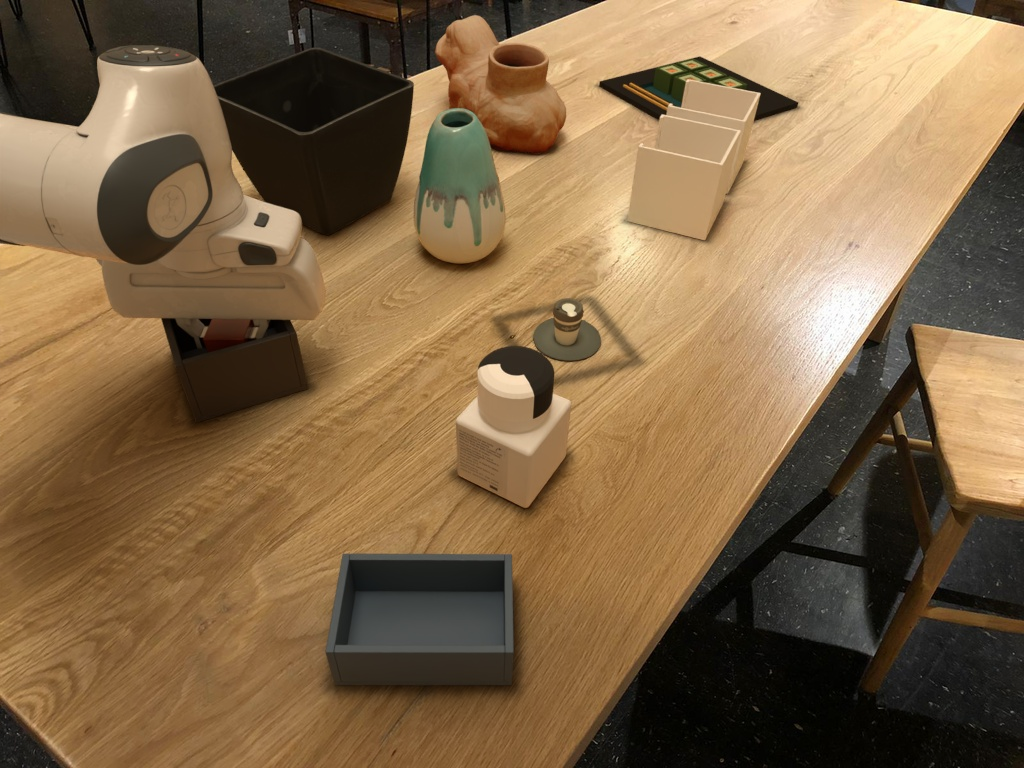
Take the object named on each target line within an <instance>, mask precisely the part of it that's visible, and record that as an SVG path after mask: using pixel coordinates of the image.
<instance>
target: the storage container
mask: <svg viewBox="0 0 1024 768" xmlns="http://www.w3.org/2000/svg"><path fill="white" fill-rule="evenodd" d="M760 94H761V93H757V92H752V91H747V90H741V89H736V88H731V87H726V86H720V85H715V84H710V83H705V82H699V81H694V80H689V79H688V80H687V81H686V84H685V89H684V95H683V100H682V106H681V108H680V107H675V106H672V105H673V104H671V103H670V104H669V105H668V109H667V115H663V114H662V115H661V116H660V119H659V120H658V126H657V131H656V138H655V143H654V148H653V147H649V146H644V143H642V142H640V143H639V145H638V146H637V153H636V157H635V158H636V159H635V165H634V172H633V179H632V185H631V193H630V198H629V199H630V200H629V206H628V212H627V218H626V222H628V223H634V224H637V225H641V226H645V227H649V228H653V229H656V230H661V231H665V232H670V233H673V234H678V235H680V236H681V235H682V236H686V237H689V238H694V239H697V240H702V241H706V239H707V237H708V235H709V233H710V231H711V230H712V227H713V225H714V224H715V221H716V219H717V217H718V215H719V213H720V211H721V209H722V207H723V205H724V201H725V197H726V194H727V195H728V194H729V193H730V191H731V188H732V187H733V184H734V182H735V180H736V178H737V176H738V174H739V172H740V170H741V168H742V166H743V164H744V161H745V157H746V153H747V149H748V145H749V141H750V138H751V134H752V131H753V125H754V122H755V121H754V118H755V114H756V110H757V106H758V102H759V98H760Z"/></svg>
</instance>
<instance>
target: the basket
mask: <svg viewBox="0 0 1024 768" xmlns="http://www.w3.org/2000/svg"><path fill="white" fill-rule="evenodd" d="M160 319H161V323H162V326H163V329H164V333H165V336H166V341H167V343H168V347H169V350H170V354H171V356H172V360H173V363H174V367H175V370H176V372H177V376H178V378H179V380H180V381H179V382H180V383H181V385H182V388H183V389H182V390H183V391H184V395H185V397H186V400H187V402H188V405H189V407H190V411H191V413H192V415H193V418H194V421H195V423H201V422H203V421H207V420H210V419H214V418H217V417H220V416H224V415H227V414H231V413H233V412H236V411H239V410H243V409H247V408H250V407H253V406H256V405H260V404H262V403H266V402H269V401H273V400H276V399H279V398H282V397H286V396H289V395H292V394H295V393H296V394H297V393H298V392H303V391H305V390H308V389H309V385H308V379H307V376H306V371H305V366H304V361H303V357H302V352H301V347H300V343H299V339H298V333H297V331H296V329H295V327H294V324H293V323H292V320H270V323H269V326H268V328H267V330H266V333H267V337H264V338H260V339H256V340H253V341H249V342H246V343H242V344H238V345H235V346H231V347H227V348H224V349H220V350H216V351H213V352H209V353H207V350H206V349H198V348H197V346H196V343H195V340H194V337H192V336H190V335H189V334H188V333H187V332H186V331H184V330H183V329H182V328H181V327H180V326H178V325H177V322H176V319H175V318H160ZM199 320H200V321H201V322H202V324H203V325H204V326H209V324H210V322H211V320H212V319H199ZM255 327H259V326H255Z"/></svg>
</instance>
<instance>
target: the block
mask: <svg viewBox="0 0 1024 768" xmlns="http://www.w3.org/2000/svg"><path fill="white" fill-rule="evenodd" d="M251 327H255V325H254V322H253V319H212V320H211V322H210V324H209V327H208V329H207V331H206V333H205V336H204V338H203V340H204V343H205V347H206V350H207V353H209V352H213V351H216V350H220V349H224V348H227V347H231V346H235V345H238V344H242V343H246V342H248V335H249V333H250V330H251Z"/></svg>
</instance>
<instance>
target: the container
mask: <svg viewBox="0 0 1024 768" xmlns="http://www.w3.org/2000/svg"><path fill="white" fill-rule="evenodd" d="M476 373H477V375H476V377H477V382H476V383H477V395H476V396H475V398H474V399H473V400H472V401H471V402H470V403H469V404H468V405H467V407H465V409H464V410H463V411H461V412H460V414H459V415H458V416H457V417H456V418H455V439H456V464H457V466H456V468H457V475H458V476H459V477H461V478H463V479H464V480H467V481H469V482H471V483H473V484H475V485H476V486H479V487H481V488H483V489H484V490H487V491H488V492H491V493H493V494H495V495H497V496H499V497H501V498H504V499H505V500H506V501H507V500H508V501H510V502H511V503H514V504H516V505H518V506H519V507H521V508H522V509H523V508H524V509H527V508H529V507H530V506H531V505H532V503H533V502H534V500H535V499H536V498H537V496H538V495H539V494H540V492H541V491H542V490H543V488H544V487H545V485H546V484H547V483H548V481H549V480H550V479H551V478H552V476H553V475H554V473H555V472H556V470H557V469H558V468H559V466H560V465H561V463H562V462H563V461H564V460H565V458H566V456H567V449H568V439H569V430H570V423H571V422H570V420H571V412H572V401H571V400H570V399H568V398H565V397H563V396H560V395H558V394H556V393H554V386H555V385H554V384H555V367H554V366H553V363H552V362H551V361H550V360H549V359H548V357H547V356H546V355H544V354H543V353H542V352H541V351H539V350H537V349H533V348H531V347H527V346H522V345H508V346H502V347H500V348H497V349H494V350H492V351H491V352H489V353H488V354H487V355H485V356H484V357H483V358H482V359H481V360H480V362H479V364H478V366H477V371H476Z"/></svg>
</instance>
